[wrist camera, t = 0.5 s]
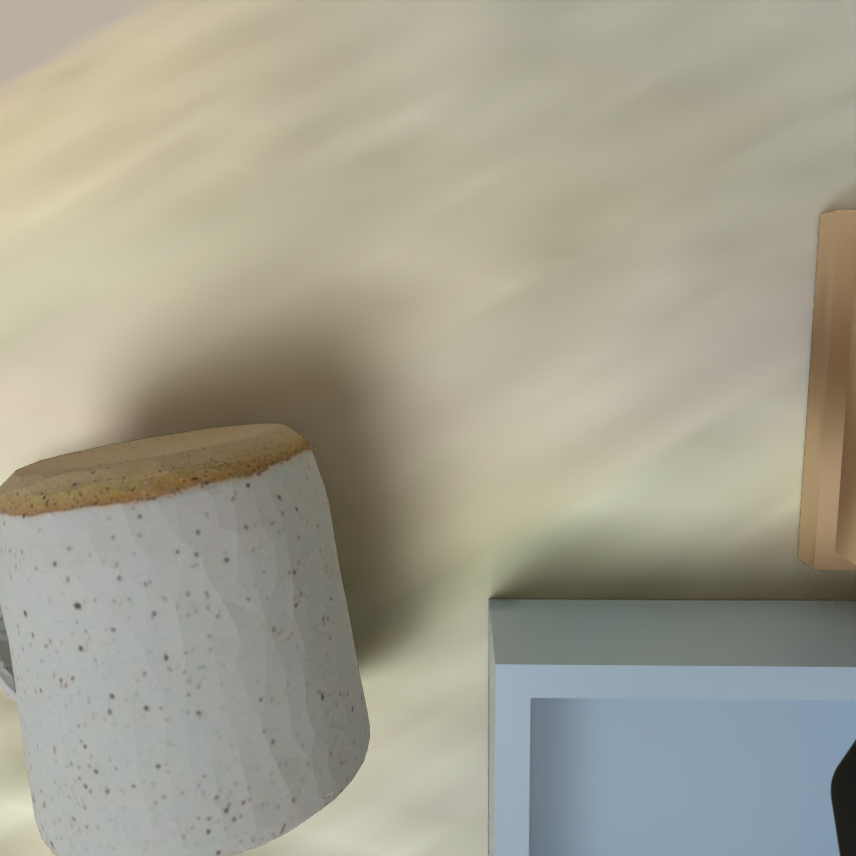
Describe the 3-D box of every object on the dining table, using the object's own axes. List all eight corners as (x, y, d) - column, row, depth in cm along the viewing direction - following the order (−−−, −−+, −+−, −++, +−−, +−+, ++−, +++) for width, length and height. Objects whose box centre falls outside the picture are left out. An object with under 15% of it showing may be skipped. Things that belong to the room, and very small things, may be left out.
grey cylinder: (336, 396, 21) (260, 450, 14) (388, 680, 22) (345, 874, 15) (-36, 456, 22) (-301, 537, 15) (34, 726, 23) (-177, 931, 16)
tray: (852, 947, 23) (933, 1079, 19) (488, 940, 24) (493, 1068, 20) (881, 600, 22) (976, 668, 18) (488, 599, 22) (495, 663, 18)
